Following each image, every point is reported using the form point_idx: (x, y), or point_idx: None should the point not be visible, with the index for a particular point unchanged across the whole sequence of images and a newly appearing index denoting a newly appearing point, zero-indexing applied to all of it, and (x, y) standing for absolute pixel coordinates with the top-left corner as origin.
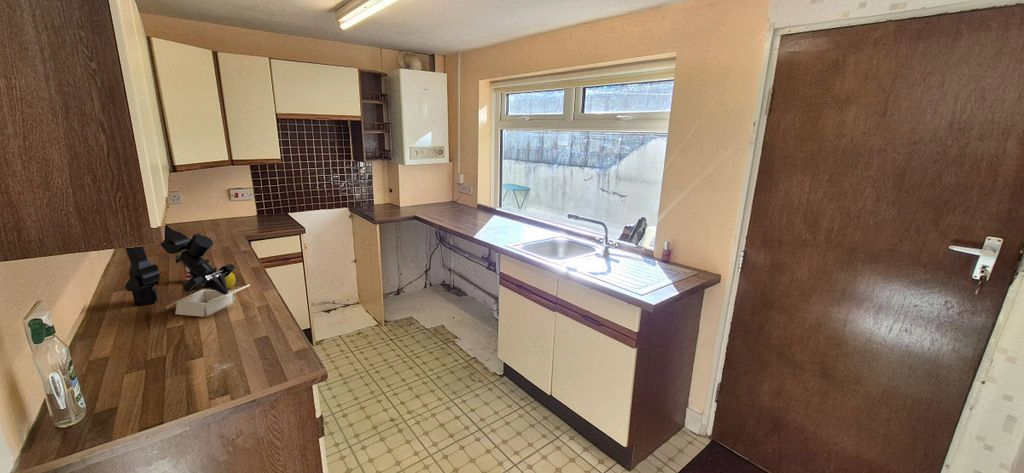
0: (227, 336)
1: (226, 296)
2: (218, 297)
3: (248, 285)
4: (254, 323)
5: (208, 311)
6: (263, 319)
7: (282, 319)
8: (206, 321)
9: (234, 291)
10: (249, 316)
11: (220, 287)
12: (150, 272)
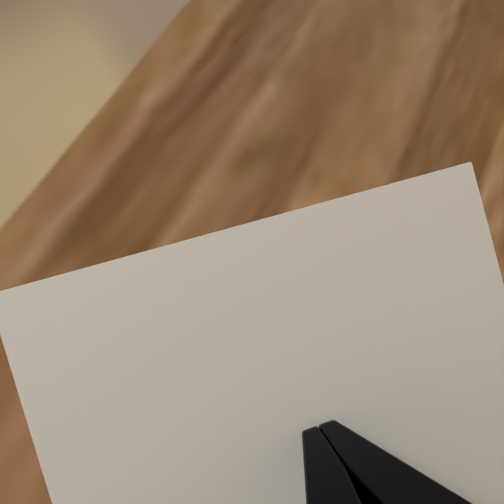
0: (471, 72)
1: (458, 165)
2: (437, 437)
3: (26, 285)
4: (312, 82)
5: None
6: (253, 83)
7: (204, 12)
8: None
9: (311, 226)
10: (269, 182)
11: (461, 501)
12: None
